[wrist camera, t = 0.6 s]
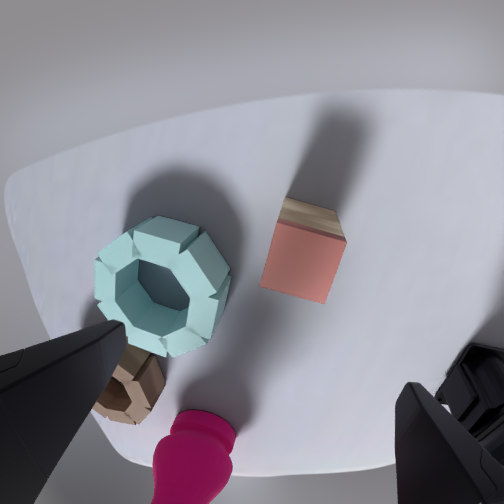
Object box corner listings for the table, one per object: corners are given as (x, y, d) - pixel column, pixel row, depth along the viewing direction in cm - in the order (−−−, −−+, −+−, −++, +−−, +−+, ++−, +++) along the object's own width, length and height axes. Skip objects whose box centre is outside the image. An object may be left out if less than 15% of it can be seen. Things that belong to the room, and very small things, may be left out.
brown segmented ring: (145, 328, 25) (125, 353, 22) (174, 403, 28) (161, 429, 25) (71, 326, 27) (50, 346, 24) (104, 394, 30) (88, 415, 26)
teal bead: (240, 237, 21) (228, 257, 18) (216, 341, 24) (204, 370, 21) (124, 206, 22) (96, 219, 18) (117, 307, 25) (95, 329, 22)
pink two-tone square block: (335, 211, 19) (346, 242, 14) (320, 258, 21) (324, 304, 15) (285, 197, 20) (276, 222, 14) (272, 244, 21) (259, 286, 15)
